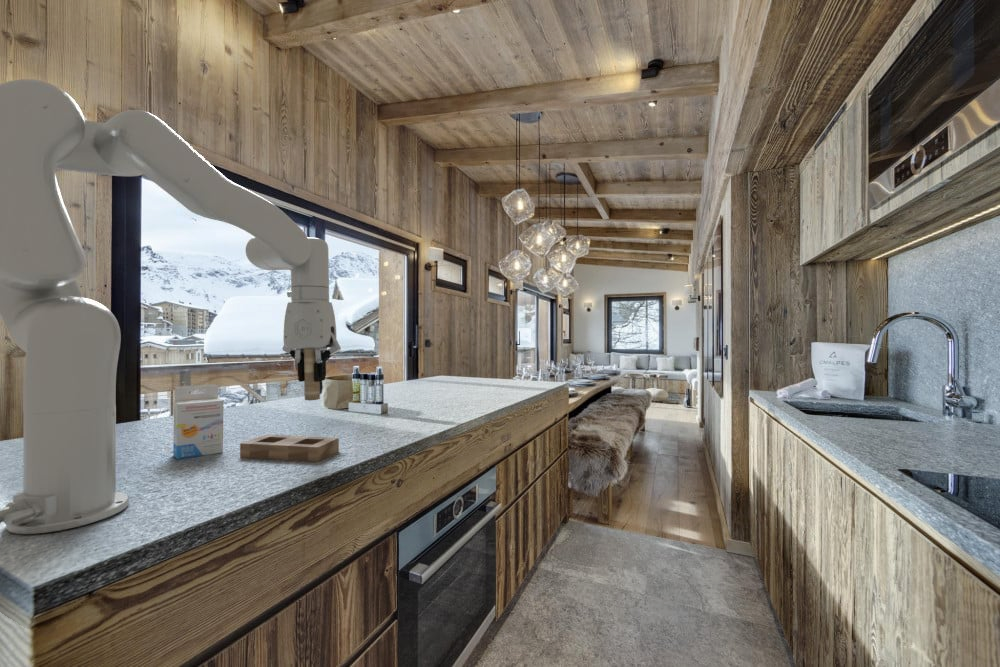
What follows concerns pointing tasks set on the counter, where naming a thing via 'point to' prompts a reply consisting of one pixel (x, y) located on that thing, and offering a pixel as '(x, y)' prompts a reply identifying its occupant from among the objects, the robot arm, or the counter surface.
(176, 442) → the ink box
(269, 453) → the socket block
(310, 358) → the peg
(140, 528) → the counter surface
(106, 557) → the counter surface
